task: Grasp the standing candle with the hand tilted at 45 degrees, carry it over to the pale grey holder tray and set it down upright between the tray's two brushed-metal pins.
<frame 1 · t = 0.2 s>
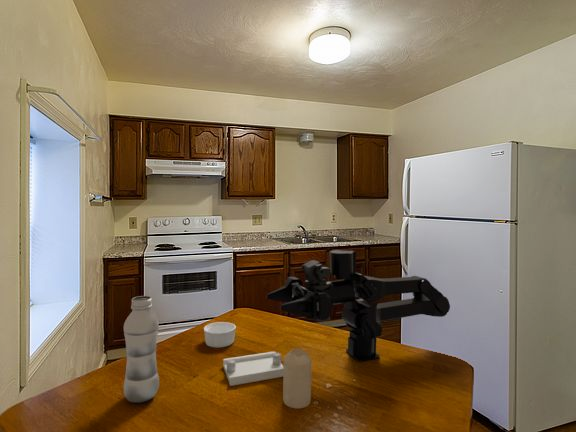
hand: (273, 301, 76), 17 cm above the table, tool horizontal, fingers open, 9 cm apart
plastic bottle: (141, 398, 65), on the table
candle: (296, 401, 65), on the table
tray: (254, 370, 77), on the table
ramekin: (219, 342, 93), on the table
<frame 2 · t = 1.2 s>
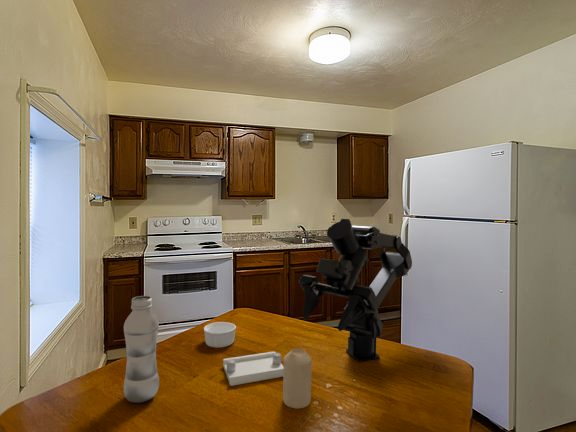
hand: (320, 324, 71), 13 cm above the table, tool tilted 45°, fingers open, 9 cm apart
nothing on the table moved.
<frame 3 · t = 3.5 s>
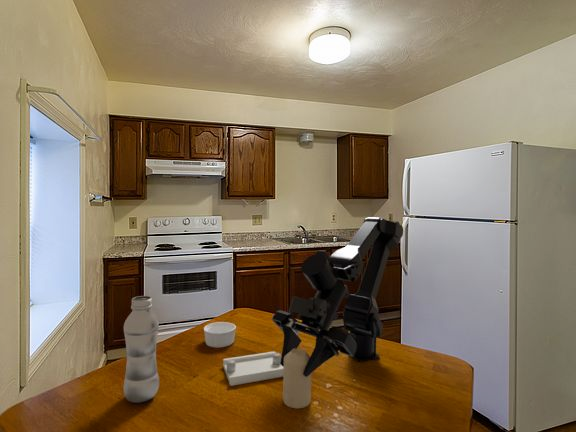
hand: (292, 370, 64), 7 cm above the table, tool tilted 45°, fingers closed on candle, 5 cm apart
candle: (296, 401, 65), on the table, touching gripper
everything else where it was.
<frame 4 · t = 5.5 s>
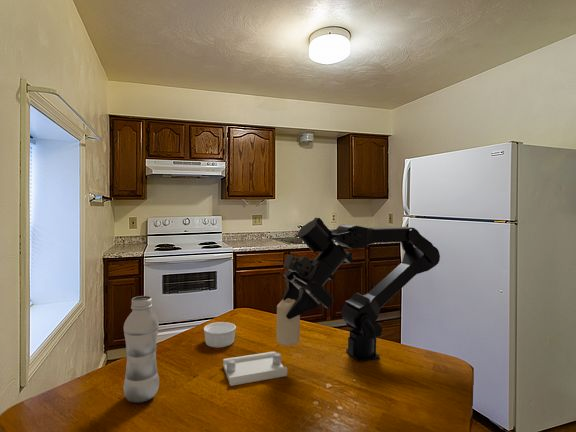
hand: (283, 313, 78), 13 cm above the table, tool tilted 45°, fingers closed on candle, 5 cm apart
candle: (287, 341, 79), point 6 cm above the table, touching gripper
everything else where it was.
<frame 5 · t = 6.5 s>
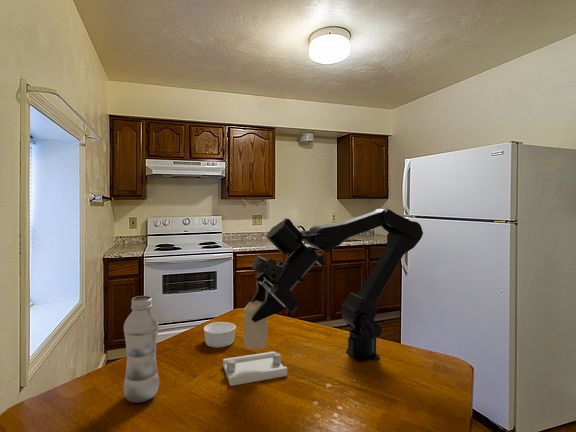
hand: (250, 316, 76), 13 cm above the table, tool tilted 45°, fingers closed on candle, 5 cm apart
candle: (255, 345, 77), point 6 cm above the table, touching gripper
everything else where it was.
when the fingers open (9 cm above the table, at t = 7.5 s): candle drops 2 cm, resting on tray.
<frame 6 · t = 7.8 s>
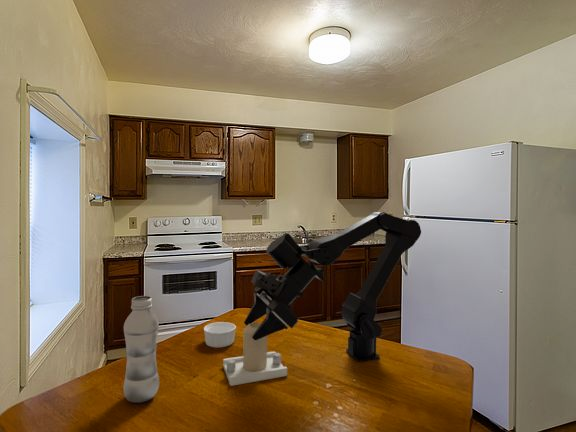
hand: (249, 331, 76), 10 cm above the table, tool tilted 45°, fingers open, 9 cm apart
candle: (254, 366, 77), point 1 cm above the table, touching tray
everything else where it was.
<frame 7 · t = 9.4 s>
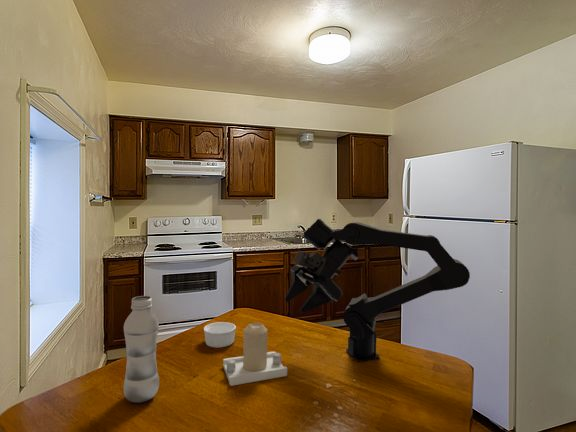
hand: (293, 306, 83), 13 cm above the table, tool tilted 45°, fingers open, 9 cm apart
nothing on the table moved.
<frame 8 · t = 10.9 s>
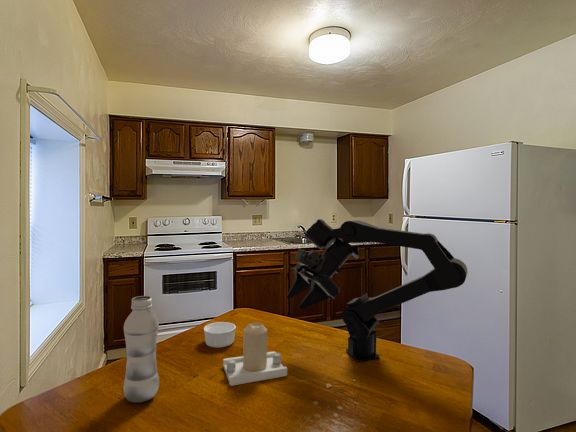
hand: (293, 303, 85), 14 cm above the table, tool tilted 45°, fingers open, 9 cm apart
nothing on the table moved.
at the end: candle 0.4 cm off-centre on the tray, point 0.8 cm above the tray's base; candle tilted 0°; the gripper is holding nothing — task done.
